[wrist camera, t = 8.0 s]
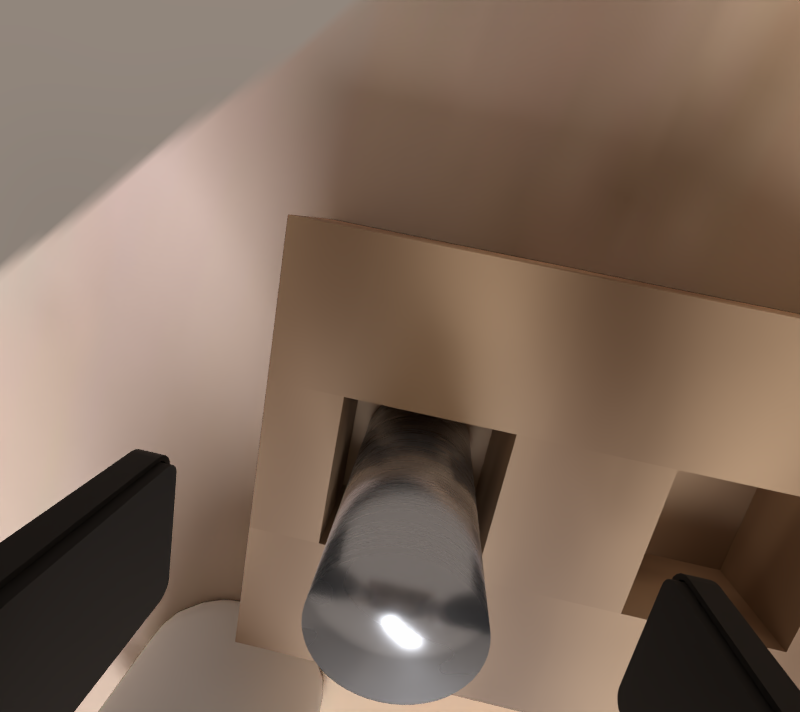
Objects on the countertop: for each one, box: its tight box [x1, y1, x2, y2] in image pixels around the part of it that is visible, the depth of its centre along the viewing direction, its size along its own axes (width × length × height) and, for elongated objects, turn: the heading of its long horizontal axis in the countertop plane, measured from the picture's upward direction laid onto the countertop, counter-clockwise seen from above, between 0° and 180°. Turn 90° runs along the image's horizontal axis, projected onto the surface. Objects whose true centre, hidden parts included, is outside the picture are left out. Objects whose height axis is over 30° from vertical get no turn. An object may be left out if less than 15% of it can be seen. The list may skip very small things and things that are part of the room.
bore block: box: [235, 215, 800, 712], centre depth 14 cm, size 16×12×4 cm
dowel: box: [301, 405, 491, 705], centre depth 11 cm, size 3×3×7 cm
